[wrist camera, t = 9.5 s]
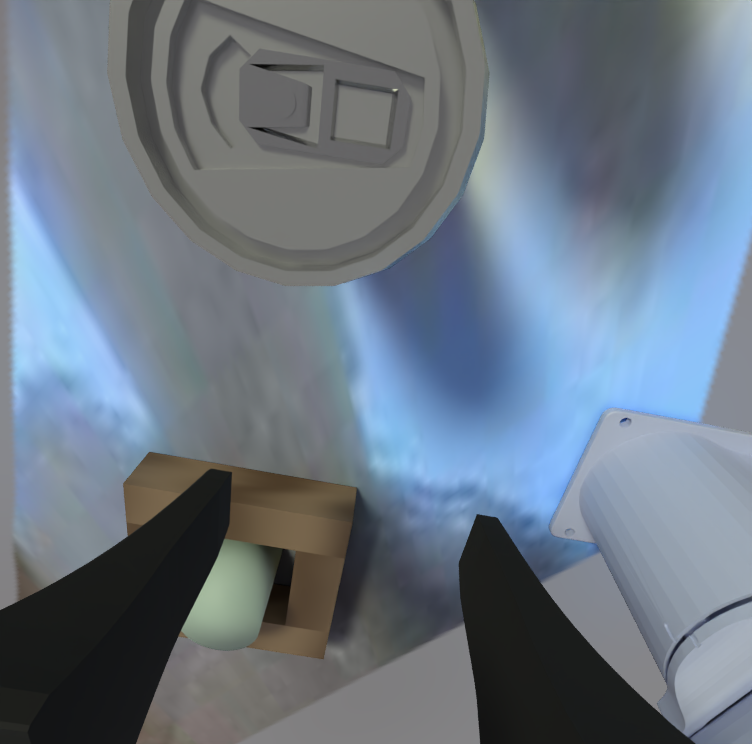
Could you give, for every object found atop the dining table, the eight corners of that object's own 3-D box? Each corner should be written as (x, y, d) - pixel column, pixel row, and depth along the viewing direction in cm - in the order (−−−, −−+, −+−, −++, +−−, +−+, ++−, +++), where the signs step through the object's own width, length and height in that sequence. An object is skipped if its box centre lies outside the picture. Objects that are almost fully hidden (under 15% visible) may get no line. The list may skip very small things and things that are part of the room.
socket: (356, 487, 24) (352, 522, 22) (329, 619, 29) (323, 659, 27) (149, 451, 24) (123, 483, 21) (156, 592, 28) (136, 629, 26)
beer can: (449, 58, 16) (563, -145, 5) (420, 220, 18) (452, 326, 7) (294, 31, 15) (53, -237, 5) (285, 198, 18) (113, 273, 7)
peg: (285, 524, 26) (261, 604, 21) (279, 572, 27) (256, 655, 23) (215, 512, 25) (175, 590, 21) (213, 561, 27) (177, 643, 23)
